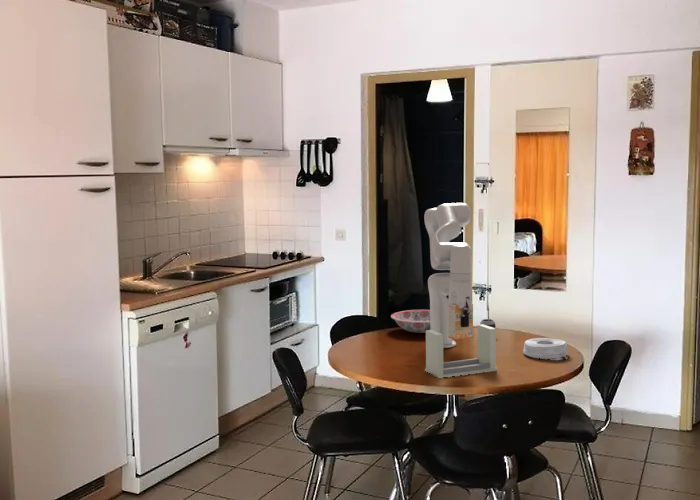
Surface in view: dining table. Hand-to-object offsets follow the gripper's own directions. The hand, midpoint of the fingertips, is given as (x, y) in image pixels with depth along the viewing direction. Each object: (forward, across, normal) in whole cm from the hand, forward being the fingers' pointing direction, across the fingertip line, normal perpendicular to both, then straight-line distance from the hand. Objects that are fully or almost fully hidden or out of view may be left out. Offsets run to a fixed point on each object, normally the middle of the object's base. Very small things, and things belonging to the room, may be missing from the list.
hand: (460, 325), depth 273 cm
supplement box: (+5, 0, 0) cm, 5 cm away
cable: (+18, -6, +43) cm, 47 cm away
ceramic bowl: (+17, -69, +19) cm, 73 cm away
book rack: (+18, -1, 0) cm, 18 cm away
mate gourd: (+17, -45, +40) cm, 62 cm away
